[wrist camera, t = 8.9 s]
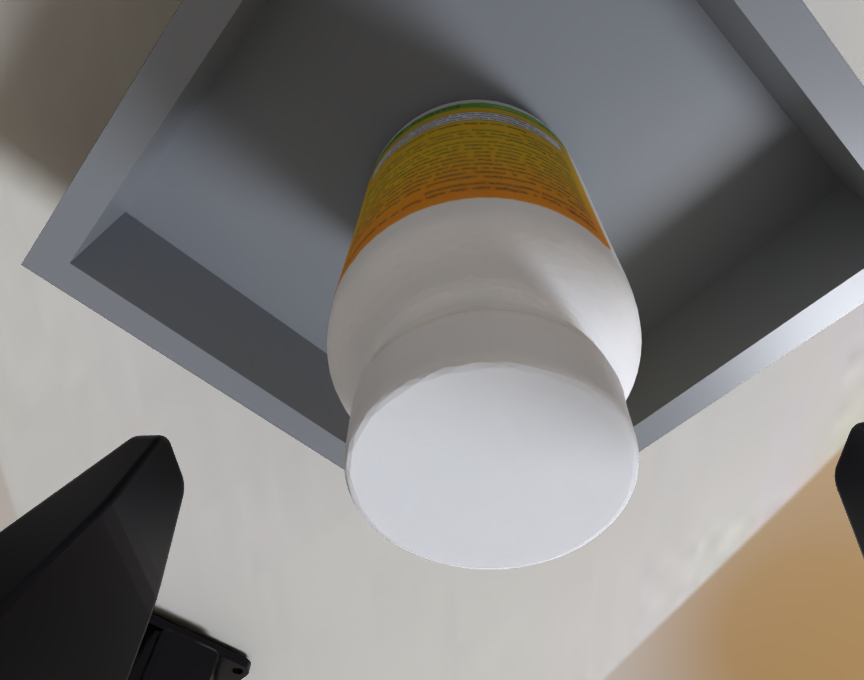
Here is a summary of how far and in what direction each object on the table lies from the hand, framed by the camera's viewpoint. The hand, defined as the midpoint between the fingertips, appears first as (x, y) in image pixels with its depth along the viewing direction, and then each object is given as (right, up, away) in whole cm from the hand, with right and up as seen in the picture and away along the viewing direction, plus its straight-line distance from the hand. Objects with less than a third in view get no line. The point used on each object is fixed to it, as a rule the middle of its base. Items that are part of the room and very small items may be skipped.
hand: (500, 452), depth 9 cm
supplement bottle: (0, +5, +8) cm, 10 cm away
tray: (0, +5, +9) cm, 10 cm away
